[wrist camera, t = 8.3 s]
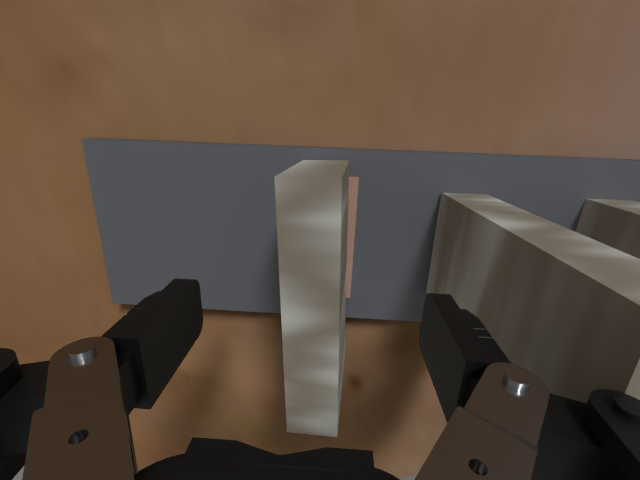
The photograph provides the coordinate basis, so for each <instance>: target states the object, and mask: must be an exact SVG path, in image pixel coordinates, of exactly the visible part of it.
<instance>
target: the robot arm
mask: <svg viewBox="0 0 640 480" xmlns="http://www.w3.org/2000/svg"><path fill="white" fill-rule="evenodd" d="M202 325H203V314H202V303H201V293H200V284H199V282H198V280H196V279H179V278H175V279H173V280H172V281H171V282H170V283H169V284H168V285H167V286H166V287H165V288H164V289H163V290H162V291H157V292H155V293H153V294H151V295H149V296H147V297H145V298H144V299H143V300H141V301H140V302H139V303H138V304H137V305H136V306H135V308H132V309H131V310H130V311H129V312H128V313H127V315H125V316H124V317H122V318H121V319H120V320H119V321H118V322H117V323H116V324H115V325H113V326H112V327H111V328H110V329H109V330H108V331H107V332H106V333H104V334H103V335H102V336H101V337H89V338H85V339H81V340H77V341H75V342H72V343H70V344H68V345H66V346H64V347H62V348H61V349H59V350H58V351H57V352H56V353H54V354H53V356H52V357H51V358H50V361H43V362H36V363H29V364H22V365H19V362H18V359H17V356H16V353H15V352H14V351H13V350H11V349H6V348H0V480H12V479H13V478H14V476H15V475H16V474H17V473H18V472H19V470H21V468H22V467H23V466H24V465H25V466H24V472H23V480H400V479H398V478H396V477H395V476H393V475H391V474H389V473H387V472H385V471H383V470H380V469H378V468H375V467H374V461H373V451H368V450H355V449H341V448H328V447H327V448H321V449H316V450H310V451H304V452H298V453H292V454H286V455H277V454H274V453H271V452H268V451H265V450H262V449H259V448H256V447H253V446H250V445H247V444H245V443H242V442H239V441H235V440H221V439H208V438H194V437H193V438H192V440H191V442H190V444H189V446H188V448H187V451H186V453H185V454H180V455H176V456H172V457H169V458H166V459H163V460H161V461H158V462H156V463H154V464H152V465H150V466H148V467H146V468H144V469H142V470H140V471H139V472H138V468H137V462H136V456H135V450H134V444H133V438H132V432H131V426H130V421H129V416H128V415H129V414H130V412H131V411H132V410H133V408H141V409H151V408H152V406H153V405H154V403H155V402H156V400H157V399H158V397H159V396H160V394H161V393H162V391H163V390H164V388H165V387H166V385H167V384H168V382H169V381H170V379H171V378H172V376H173V375H174V373H175V372H176V370H177V368H178V367H179V365H180V364H181V362H182V361H183V359H184V358H185V356H186V355H187V353H188V352H189V350H190V349H191V347H192V346H193V344H194V343H195V341H196V340H197V338H198V337H199V335H200V333H201V329H202ZM419 339H420V348H421V352H422V355H423V357H424V360H425V363H426V366H427V368H428V371H429V374H430V377H431V379H432V382H433V385H434V387H435V390H436V393H437V396H438V398H439V401H440V404H441V407H442V409H443V412H444V415H445V418H446V420H447V425H446V427H445V428H444V430H443V432H442V434H441V435H440V437H439V439H438V440H437V442H436V444H435V446H434V447H433V449H432V451H431V452H430V454H429V456H428V458H427V459H426V461H425V463H424V464H423V466H422V468H421V470H420V471H419V473H418V475H417V476H416V478H415V480H640V400H639V399H637V398H635V397H633V396H630V395H628V394H625V393H622V392H619V391H615V390H609V389H597V390H594V391H592V392H591V394H590V396H589V399H588V401H587V403H583V402H580V401H576V400H572V399H569V398H565V397H562V396H558V395H555V394H552V393H550V392H549V389H548V387H547V385H546V384H545V382H544V381H543V380H542V379H541V378H539V377H538V376H537V375H536V374H534V373H533V372H531V371H529V370H527V369H525V368H523V367H521V366H518V365H515V364H512V363H511V362H510V361H509V359H508V358H507V357H506V355H505V354H504V352H503V351H502V350H501V348H500V347H499V345H498V344H497V343H496V341H495V340H494V339H493V338H492V336H491V334H490V333H489V332H488V330H486V327H485V326H484V325H483V323H482V322H481V321H480V319H479V318H478V317H476V316H475V315H474V314H472V313H471V312H469V311H468V310H467V309H460V308H459V306H458V305H457V303H456V302H455V300H454V299H453V297H452V296H451V295H450V294H437V293H427V295H426V297H425V302H424V308H423V315H422V321H421V327H420V337H419Z"/></svg>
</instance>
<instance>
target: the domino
mask: <svg viewBox="0 0 640 480" xmlns="http://www.w3.org/2000/svg"><path fill="white" fill-rule="evenodd" d="M274 179H275V199H276V220H277V241H278V261H279V282H280V303H281V323H282V344H283V365H284V385H285V406H286V427H287V432H292V433H301V434H311V435H320V436H329V437H337V436H338V424H339V413H340V401H341V390H342V378H343V367H344V356H345V318H346V276H347V234H348V193H349V160H302V161H301V162H299V163H297V164H295V165H294V166H292V167H290V168H289V169H287V170H285V171H283V172H282V173H280V174H278V175H276V176H275V177H274Z"/></svg>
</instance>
